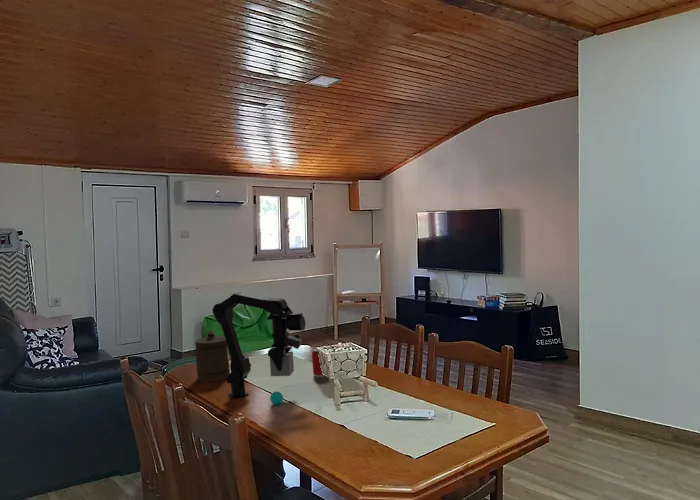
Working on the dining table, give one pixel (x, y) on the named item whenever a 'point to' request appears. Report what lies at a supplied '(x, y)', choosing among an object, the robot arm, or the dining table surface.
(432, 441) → the dining table surface
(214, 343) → the wooden container
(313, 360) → the beverage can
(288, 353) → the dark grey block
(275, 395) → the ball
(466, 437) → the dining table surface
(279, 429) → the dining table surface
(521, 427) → the dining table surface
